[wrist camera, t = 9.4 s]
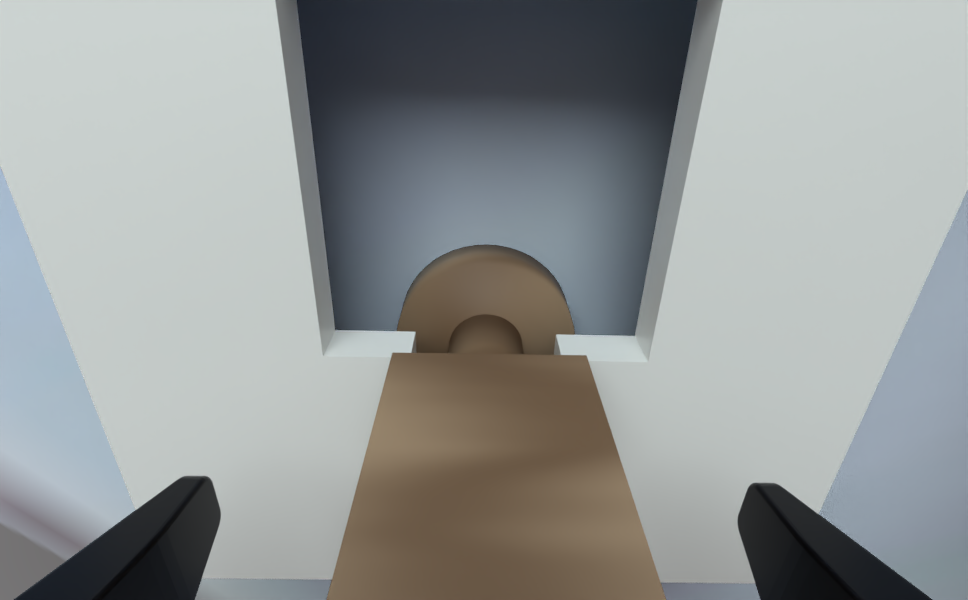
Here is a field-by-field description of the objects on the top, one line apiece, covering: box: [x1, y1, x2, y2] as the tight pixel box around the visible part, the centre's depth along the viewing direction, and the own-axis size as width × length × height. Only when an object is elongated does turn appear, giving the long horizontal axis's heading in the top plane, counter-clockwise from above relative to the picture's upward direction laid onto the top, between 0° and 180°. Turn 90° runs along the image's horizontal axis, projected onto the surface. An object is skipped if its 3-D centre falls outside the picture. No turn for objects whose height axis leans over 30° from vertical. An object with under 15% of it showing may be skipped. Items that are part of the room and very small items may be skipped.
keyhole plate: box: [0, 0, 968, 584], centre depth 10 cm, size 16×20×4 cm
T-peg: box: [327, 245, 666, 600], centre depth 10 cm, size 4×4×9 cm
